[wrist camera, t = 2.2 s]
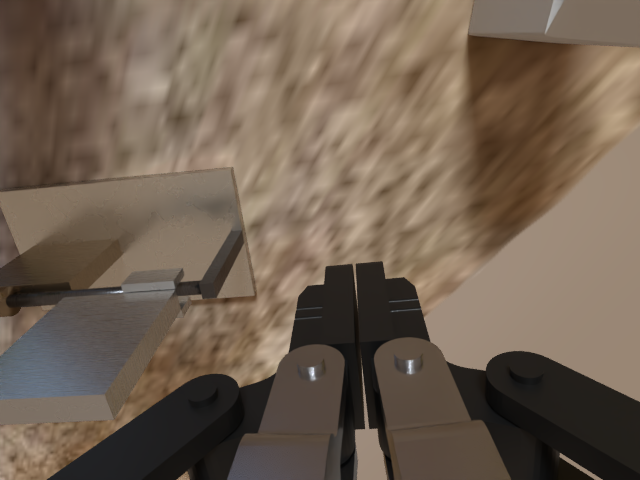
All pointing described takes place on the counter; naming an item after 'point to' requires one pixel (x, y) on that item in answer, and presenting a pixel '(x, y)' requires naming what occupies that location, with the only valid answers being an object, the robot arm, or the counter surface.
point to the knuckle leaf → (89, 352)
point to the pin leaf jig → (125, 237)
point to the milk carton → (559, 21)
